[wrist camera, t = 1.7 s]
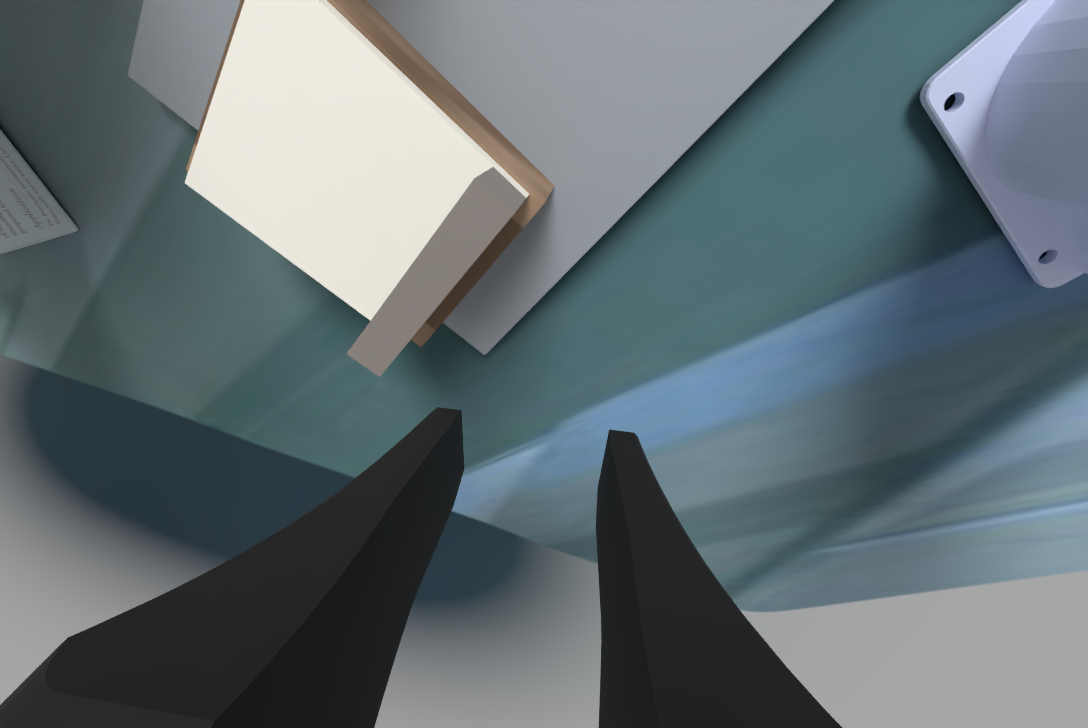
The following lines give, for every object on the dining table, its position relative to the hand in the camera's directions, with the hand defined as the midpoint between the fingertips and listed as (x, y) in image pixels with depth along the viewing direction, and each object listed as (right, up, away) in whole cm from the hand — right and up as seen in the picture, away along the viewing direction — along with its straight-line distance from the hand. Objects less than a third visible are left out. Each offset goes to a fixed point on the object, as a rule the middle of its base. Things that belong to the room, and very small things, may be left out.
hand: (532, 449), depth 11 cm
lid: (-5, +8, +2) cm, 10 cm away
